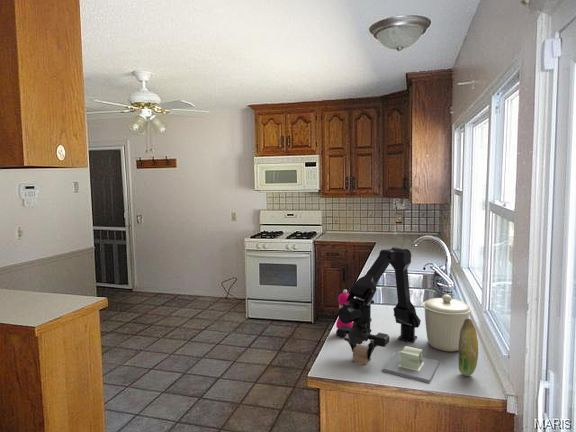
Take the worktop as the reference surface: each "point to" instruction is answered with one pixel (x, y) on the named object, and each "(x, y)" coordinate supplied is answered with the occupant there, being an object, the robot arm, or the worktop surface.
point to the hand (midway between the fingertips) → (361, 358)
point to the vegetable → (468, 348)
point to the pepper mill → (341, 300)
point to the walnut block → (360, 354)
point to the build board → (421, 374)
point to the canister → (445, 321)
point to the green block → (411, 357)
